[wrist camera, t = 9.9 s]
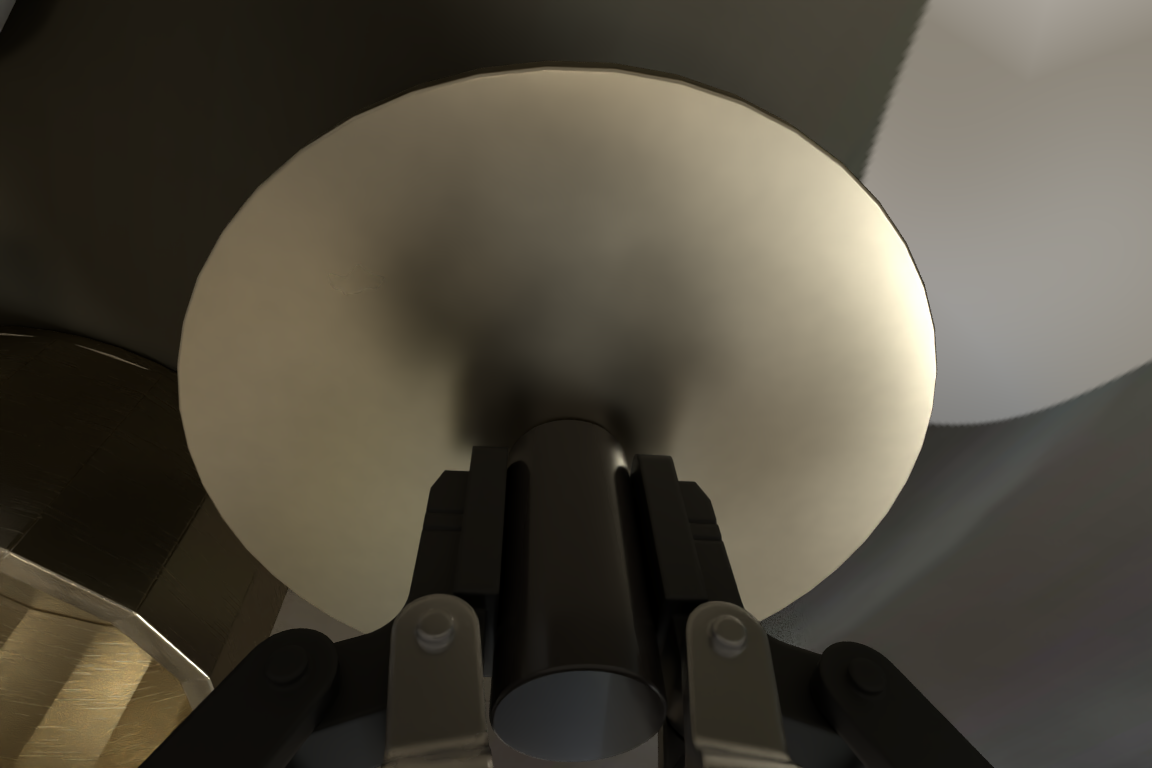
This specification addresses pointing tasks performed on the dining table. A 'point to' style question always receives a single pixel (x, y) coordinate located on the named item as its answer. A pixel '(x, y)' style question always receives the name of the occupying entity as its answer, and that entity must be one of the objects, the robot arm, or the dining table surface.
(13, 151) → the dining table surface
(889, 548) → the dining table surface
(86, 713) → the pot
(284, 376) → the lid
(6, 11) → the donut
